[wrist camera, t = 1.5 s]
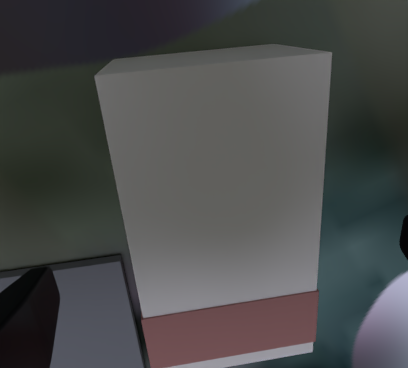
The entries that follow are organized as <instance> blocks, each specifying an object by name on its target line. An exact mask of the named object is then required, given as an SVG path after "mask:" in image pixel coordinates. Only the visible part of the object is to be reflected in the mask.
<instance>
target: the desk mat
mask: <svg viewBox="0 0 408 368" xmlns="http://www.w3.org/2000/svg"><path fill="white" fill-rule="evenodd" d="M47 266H48V267H50V268H51V269H52V271H53V274H54V277H55V280H56V283H57V286H58V290H59V293H60V306H59V313H58V320H57V327H56V333H55V340H54V347H53V353H52V359H51V364H50V368H145V363H144V359H143V354H142V349H141V345H140V340H139V336H138V331H137V326H136V322H135V317H134V312H133V308H132V303H131V299H130V294H129V289H128V285H127V280H126V276H125V271H124V266H123V262H122V257H121V255H117V256H110V257H103V258H96V259H89V260H82V261H75V262H68V263H61V264H54V265H47ZM40 267H44V266H40ZM33 268H37V267H33ZM30 269H32V268H26V269H19V270H12V271H6V272H0V292H2V291H3V290H4V289H5V288H7V287H8V286H9V285H11V284H12V283H13V282H14V281H16V280H17V279H18V278H20V277H21V276H22V275H23V274H25V273H26V272H27V271H29V270H30Z"/></svg>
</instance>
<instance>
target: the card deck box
mask: <svg viewBox="0 0 408 368" xmlns="http://www.w3.org/2000/svg"><path fill="white" fill-rule="evenodd" d="M331 62H332V52H327V51H321V50H314V49H307V48H300V47H293V46H286V45H280V44H266V45H256V46H245V47H235V48H224V49H214V50H203V51H193V52H182V53H172V54H161V55H151V56H140V57H130V58H119V59H113V60H112V61H111V62H110V63H108V64H107V65H106V66H105V67H104V68H103V69H101V70H100V71H99V72H98V73H97V74H96V75H95V76H94V77H95V82H96V87H97V92H98V97H99V102H100V107H101V112H102V117H103V122H104V127H105V132H106V137H107V142H108V147H109V152H110V157H111V162H112V167H113V172H114V177H115V182H116V186H117V191H118V196H119V201H120V206H121V211H122V216H123V221H124V226H125V231H126V236H127V241H128V246H129V251H130V256H131V261H132V266H133V271H134V276H135V281H136V286H137V291H138V296H139V301H140V306H141V311H142V312H141V321H142V326H143V331H144V336H145V341H146V346H147V351H148V356H149V360H150V365H151V368H224V367H230V366H235V365H241V364H247V363H252V362H258V361H264V360H269V359H275V358H281V357H286V356H292V355H298V354H304V353H309V352H313V342H315V341H316V326H317V312H318V297H319V291H318V289H317V275H318V260H319V245H320V230H321V214H322V199H323V184H324V169H325V153H326V138H327V123H328V108H329V92H330V77H331Z"/></svg>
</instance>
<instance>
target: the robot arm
mask: <svg viewBox="0 0 408 368" xmlns="http://www.w3.org/2000/svg"><path fill="white" fill-rule="evenodd" d="M400 248H401V250H402V252H403V254H404V255H405V257H406V258H407V260H408V215H407V216H405V218H404V220H403V224H402V230H401V235H400ZM59 306H60V293H59V290H58V286H57V283H56V280H55V277H54V274H53V271H52V269H51V268H50V267H48V266H44V267H37V268H32V269H30V270H29V271H27V272H26V273H25V274H23V275H22V276H21V277H20V278H18V279H17V280H16V281H14V282H13V283H12V284H11V285H9V286H8V287H7V288H5V289H4V290H3V291H2V292H0V368H50V364H51V359H52V353H53V347H54V340H55V333H56V327H57V320H58V313H59Z"/></svg>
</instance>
